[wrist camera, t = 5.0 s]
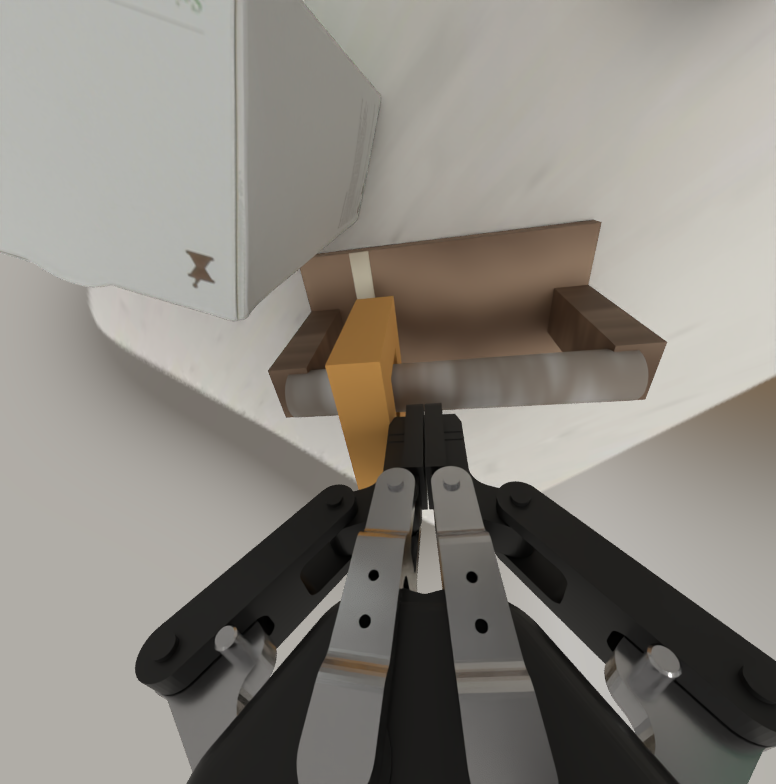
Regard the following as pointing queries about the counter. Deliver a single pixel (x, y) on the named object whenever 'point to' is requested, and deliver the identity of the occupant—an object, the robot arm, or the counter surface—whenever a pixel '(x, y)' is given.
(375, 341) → the collar
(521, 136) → the counter surface
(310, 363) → the pipe stand
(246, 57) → the skincare box
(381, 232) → the counter surface
